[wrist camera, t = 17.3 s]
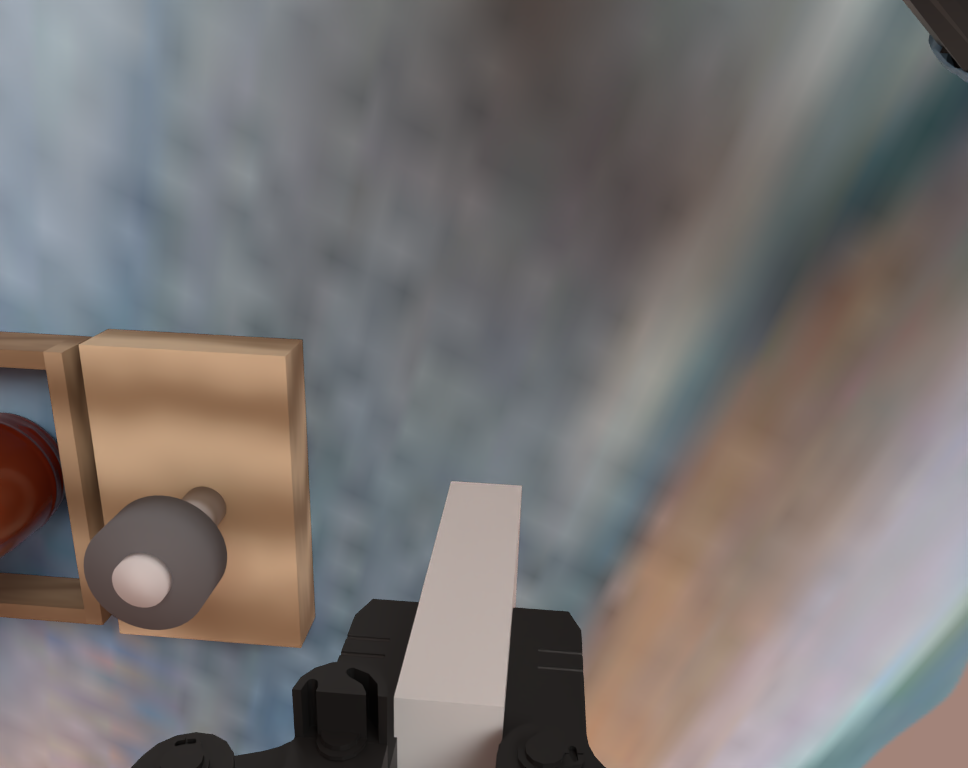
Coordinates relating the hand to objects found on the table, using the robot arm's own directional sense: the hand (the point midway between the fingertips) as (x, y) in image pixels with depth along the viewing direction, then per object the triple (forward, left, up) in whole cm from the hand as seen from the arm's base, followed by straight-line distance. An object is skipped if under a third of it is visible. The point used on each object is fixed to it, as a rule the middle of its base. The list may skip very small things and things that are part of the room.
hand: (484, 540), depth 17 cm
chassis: (+13, -23, -26) cm, 37 cm away
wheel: (+13, -17, -19) cm, 29 cm away
